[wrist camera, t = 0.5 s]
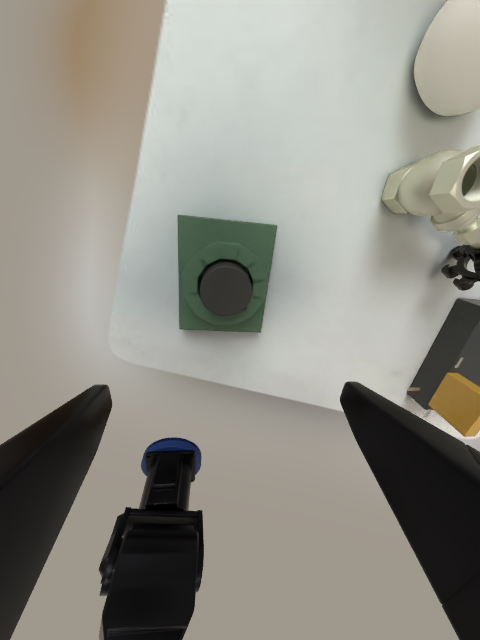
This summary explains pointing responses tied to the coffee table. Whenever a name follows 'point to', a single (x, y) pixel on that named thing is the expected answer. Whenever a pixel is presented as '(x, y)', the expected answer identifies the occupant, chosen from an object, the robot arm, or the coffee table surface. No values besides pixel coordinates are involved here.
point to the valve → (444, 203)
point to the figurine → (451, 60)
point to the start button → (225, 289)
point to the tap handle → (458, 403)
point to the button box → (214, 247)
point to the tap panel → (451, 352)
